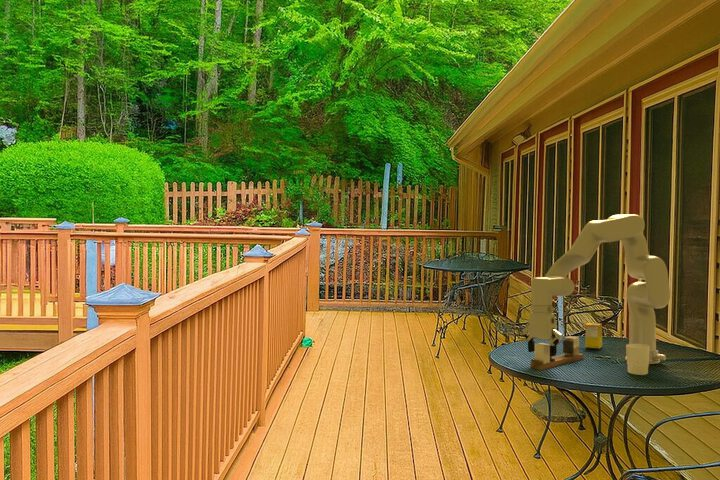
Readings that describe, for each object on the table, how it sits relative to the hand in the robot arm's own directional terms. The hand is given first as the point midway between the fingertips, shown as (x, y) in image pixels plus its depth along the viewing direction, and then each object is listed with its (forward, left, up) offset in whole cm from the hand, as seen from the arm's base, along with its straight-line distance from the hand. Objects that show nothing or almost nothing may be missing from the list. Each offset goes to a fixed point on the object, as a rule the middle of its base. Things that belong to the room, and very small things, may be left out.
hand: (542, 353), depth 227 cm
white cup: (-28, -19, -6) cm, 34 cm away
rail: (0, -11, -5) cm, 12 cm away
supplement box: (+6, -48, -6) cm, 48 cm away
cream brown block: (0, 0, -3) cm, 3 cm away
